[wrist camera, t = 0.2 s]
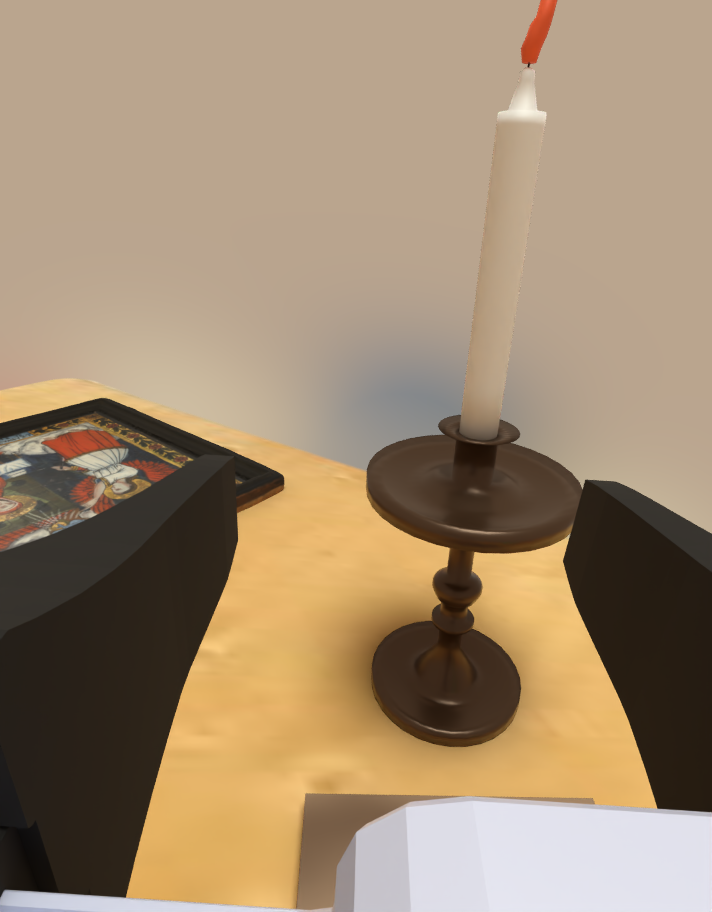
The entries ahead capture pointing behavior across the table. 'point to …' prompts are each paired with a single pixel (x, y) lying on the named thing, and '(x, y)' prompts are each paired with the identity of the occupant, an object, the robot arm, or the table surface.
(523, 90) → the candlestick
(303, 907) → the brown socket board
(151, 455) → the religious icon
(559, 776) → the table surface
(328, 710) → the table surface
